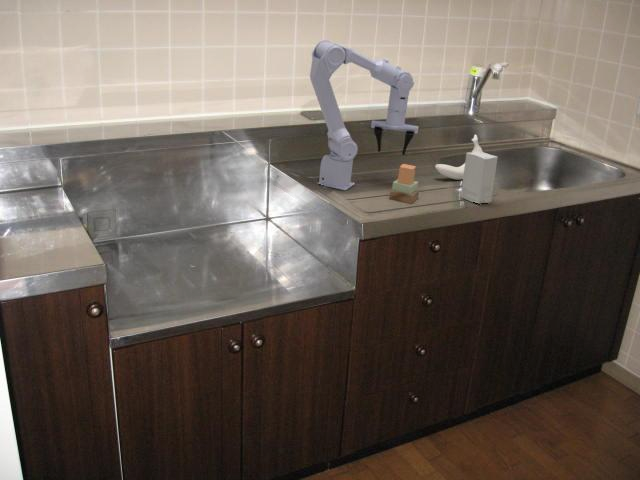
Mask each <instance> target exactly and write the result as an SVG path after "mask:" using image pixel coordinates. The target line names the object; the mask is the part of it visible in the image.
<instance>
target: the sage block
mask: <svg viewBox="0 0 640 480" xmlns="http://www.w3.org/2000/svg"><path fill="white" fill-rule="evenodd" d="M397 182H398V178H397V179H396V180H395V181H393V182H392V185H391V186H392V187H391V190H393V191H397V192H402V193H406V194H410V195H411V194H412V193H414V192H415V191H416V190H417V189H418V188H419V181H415V180H414V182H413V183H412V184H411V185H406V184H401V183H397ZM418 190H419V189H418Z"/></svg>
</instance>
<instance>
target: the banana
mask: <svg viewBox="0 0 640 480" xmlns="http://www.w3.org/2000/svg"><path fill="white" fill-rule="evenodd" d="M471 141H472V143H473V146H474V147H473V149H472V151H471V152H474V151H481V152H484V151H483V149H482V147H481V146H480V145H479V138H478V135H477V134H474V136H473V138H471ZM434 166H435V169H436V171H438V172H439V173H440V174H441V175H442V176H444V177H446V178H449V179H451V180H458V181H459V180H463V176H464V168H465V162H464V163H463V164H462V165H460V166H452V165H449V164H443V163H441V164H439V163H437V164H435V165H434Z"/></svg>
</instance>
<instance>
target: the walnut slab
mask: <svg viewBox="0 0 640 480" xmlns="http://www.w3.org/2000/svg"><path fill="white" fill-rule="evenodd" d="M419 192H420V189H417V190H416V191H415V192H414V193H412V194H411V195H410V194H406V193H402V192H397V191H393V190H392V189H391V190H390V191H389V198H388V199H389V200H392V201H396V202H401V203H406V204H410V205H412V204H413V203H414V202H415V201H416V200H418V199H419V194H420V193H419Z"/></svg>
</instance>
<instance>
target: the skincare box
mask: <svg viewBox="0 0 640 480" xmlns="http://www.w3.org/2000/svg"><path fill="white" fill-rule="evenodd" d="M498 157H499V156H497V155H494V154H489V153H487V152H484V151H483V152H481V151H474V152H472V151H469V152H466V154H465V161H464V163H465V168H464V176H463V179H462V184H461V192H460V198H461V199H464V200H467V201H469V202H470V203H473V202H475V203H483V202H488V201H491V202H492V197H493V193H494V185H495V179H496V178H495V177H496V170H497V163H498ZM475 203H474V204H475Z"/></svg>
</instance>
